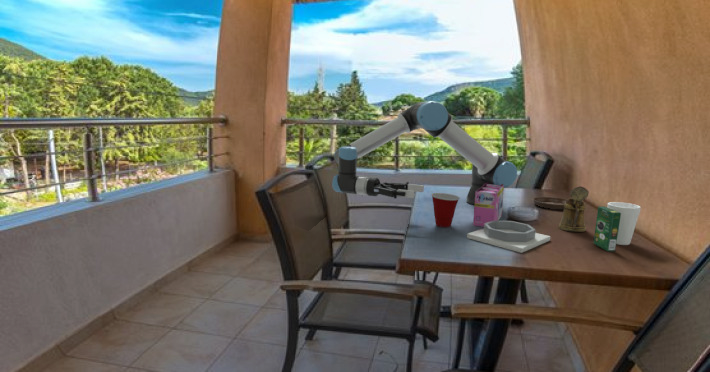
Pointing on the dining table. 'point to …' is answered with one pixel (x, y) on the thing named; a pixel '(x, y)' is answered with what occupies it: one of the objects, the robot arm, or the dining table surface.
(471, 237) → the cup holder
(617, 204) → the foam cup
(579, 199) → the wooden mug
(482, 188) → the gum box
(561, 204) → the plant saucer
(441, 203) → the plastic cup
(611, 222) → the coffee box
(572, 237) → the dining table surface
